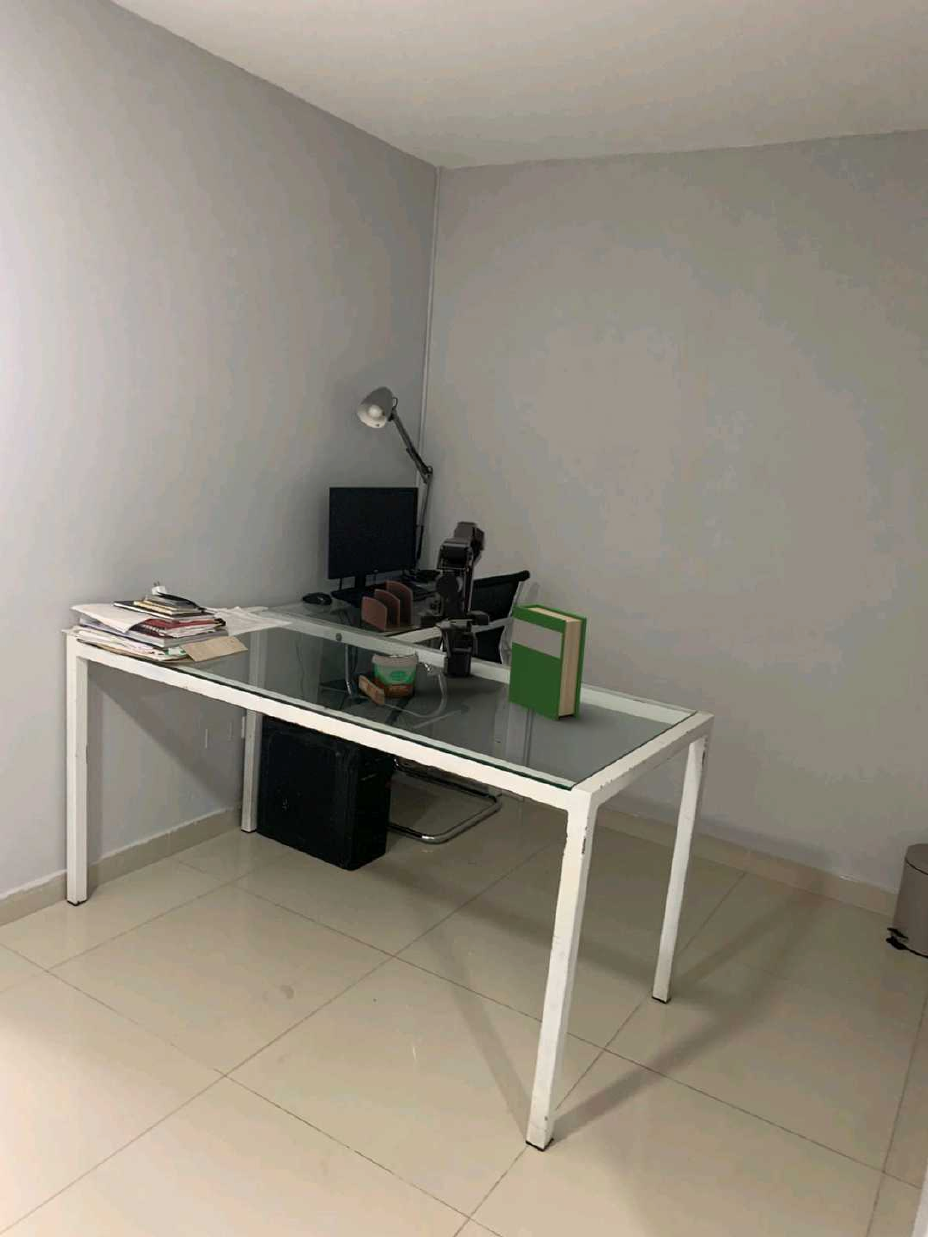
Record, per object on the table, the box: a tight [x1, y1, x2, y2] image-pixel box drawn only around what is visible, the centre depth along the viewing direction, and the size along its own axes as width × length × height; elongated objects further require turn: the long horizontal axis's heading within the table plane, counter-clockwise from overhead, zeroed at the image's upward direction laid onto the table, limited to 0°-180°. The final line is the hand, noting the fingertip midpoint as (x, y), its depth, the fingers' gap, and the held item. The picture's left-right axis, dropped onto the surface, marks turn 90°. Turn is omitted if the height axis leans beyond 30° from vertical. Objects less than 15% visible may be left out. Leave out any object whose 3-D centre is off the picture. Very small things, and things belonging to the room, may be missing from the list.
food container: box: [371, 650, 420, 698], centre depth 230 cm, size 12×6×10 cm, turn 118°
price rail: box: [358, 675, 386, 707], centre depth 227 cm, size 1×16×3 cm, turn 25°
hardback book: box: [507, 603, 588, 722], centre depth 224 cm, size 18×7×24 cm, turn 36°
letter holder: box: [361, 580, 414, 633], centre depth 306 cm, size 10×20×14 cm, turn 29°
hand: (449, 652), depth 234 cm, fingers closed
